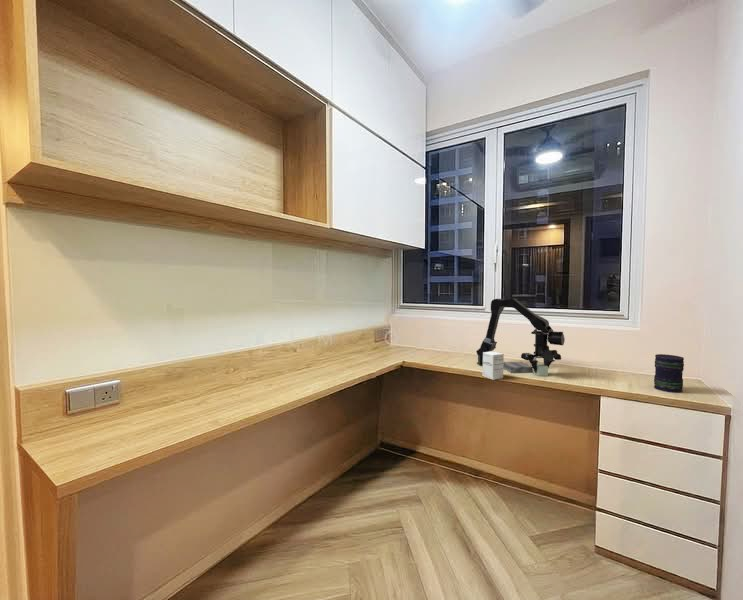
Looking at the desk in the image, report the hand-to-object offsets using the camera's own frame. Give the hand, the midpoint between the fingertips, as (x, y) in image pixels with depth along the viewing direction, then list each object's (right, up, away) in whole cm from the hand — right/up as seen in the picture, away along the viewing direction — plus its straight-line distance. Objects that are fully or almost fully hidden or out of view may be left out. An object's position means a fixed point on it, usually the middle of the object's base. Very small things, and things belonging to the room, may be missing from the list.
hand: (540, 372), depth 177 cm
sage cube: (0, -1, 0) cm, 1 cm away
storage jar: (+45, -2, -25) cm, 51 cm away
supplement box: (-27, -2, -5) cm, 27 cm away
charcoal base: (-9, -1, +9) cm, 13 cm away
